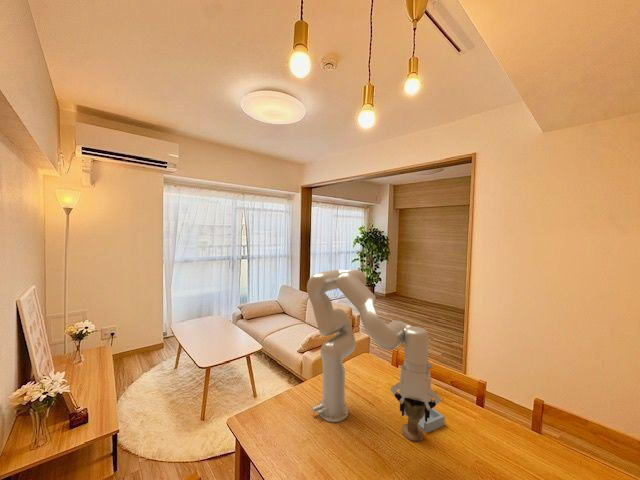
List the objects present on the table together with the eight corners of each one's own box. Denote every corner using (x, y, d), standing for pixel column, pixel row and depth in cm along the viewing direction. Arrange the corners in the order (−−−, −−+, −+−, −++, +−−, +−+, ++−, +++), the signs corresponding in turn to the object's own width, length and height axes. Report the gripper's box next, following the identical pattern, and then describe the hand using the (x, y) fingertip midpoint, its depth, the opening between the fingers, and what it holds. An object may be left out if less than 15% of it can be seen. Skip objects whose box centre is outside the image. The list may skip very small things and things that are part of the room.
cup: (427, 418, 89) (428, 396, 88) (423, 432, 83) (424, 408, 82) (405, 410, 93) (406, 388, 93) (399, 422, 87) (400, 399, 86)
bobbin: (412, 444, 93) (413, 412, 93) (397, 429, 100) (398, 399, 100) (427, 437, 96) (428, 406, 96) (412, 424, 103) (413, 394, 103)
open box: (426, 433, 99) (426, 424, 99) (404, 413, 109) (404, 404, 109) (444, 425, 103) (444, 416, 103) (420, 406, 114) (421, 398, 114)
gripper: (442, 364, 87) (441, 415, 88) (390, 355, 94) (389, 403, 94) (445, 375, 80) (443, 431, 81) (388, 365, 87) (386, 416, 87)
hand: (414, 415), depth 88 cm, fingers closed on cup, 6 cm apart
